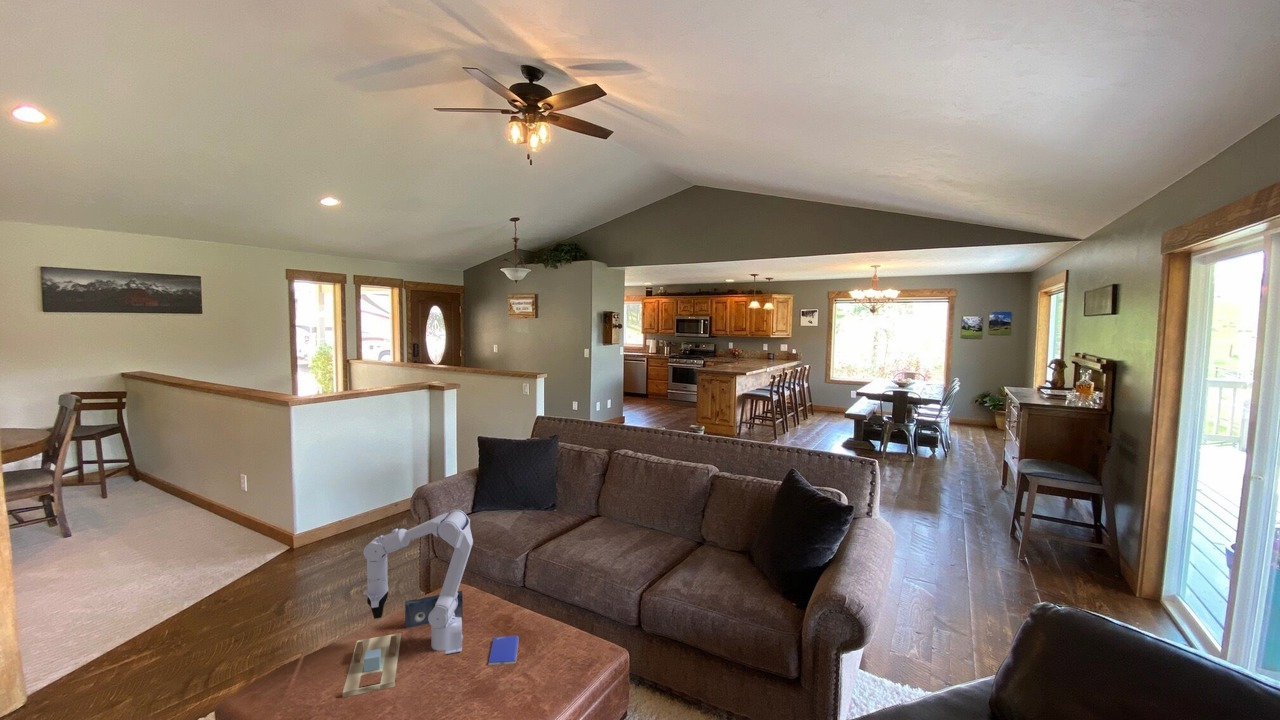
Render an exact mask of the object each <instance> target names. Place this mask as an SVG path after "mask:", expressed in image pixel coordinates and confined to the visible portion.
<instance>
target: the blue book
mask: <svg viewBox="0 0 1280 720" xmlns="http://www.w3.org/2000/svg"><path fill="white" fill-rule="evenodd" d="M519 639H520V636H519V635H508V636H495V637H493V640H492V644H491V647H490V648H491V649H490V654H489V659H488V662H487V663H488V664H487V665H488V666H499V665H512V664H516V662H517V654H518V648H519V642H520V641H519Z"/></svg>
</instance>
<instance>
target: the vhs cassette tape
mask: <svg viewBox="0 0 1280 720" xmlns="http://www.w3.org/2000/svg"><path fill="white" fill-rule="evenodd" d="M457 592H458V596H457V601H458V606H457V608H456V609H455V610H454V614H455V617H462V621H463V619H464V616H463V608H464V606H463V602H464V601H463V595H464V594H463V591H462V590H460V591H459V590H458V591H457ZM439 596H440V594H437V595H432V596H426V597H422V598H418V599H417V598H416V599H410V600H405V601H404V603H405V604H404V605H405V606H404V610H405V611H404V613H405V614H404V615H405V617H404V618H405V621H404V622H405V623H404V625H405V630H406V629H410V628H417V627H420V626H424V625H430V623H429V621H428V616H429V613H430V612H431V611H432V610H433V608H434V607H435V604H436V602H437V600H438V598H439Z"/></svg>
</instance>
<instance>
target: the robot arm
mask: <svg viewBox="0 0 1280 720" xmlns="http://www.w3.org/2000/svg"><path fill="white" fill-rule="evenodd" d="M429 534H432V535H433V536H435V537H436V538H438V537H440V538H441V539H442V540H443V541H445V542H447V544H448V545H450V546H451V547H453V550H454V551H453V553H452V557H451V559H450V562H449V566H448V569H447V572H446V574H445V578H444V582H443V583H442V588H441V590H440V593H439V595H440V596H439V598H438V600H437V602H436V604H435V607H434V608H433V610H432V611H431V612H430V613H429V616H428V621H429V623H430V624H429V625H430V627H431V629H430V630H431V631H430V633H431V634H430V639H431V643H430V644H431V648H432V650H434V651H438V652H439V651H440V652H441V651H444V655H449V654H455V653H459V652H462V651H463V641H464V634H463V620H462V617H455V614H454V610H455V609H456V608H457V606H458V601H457V596H458V592H459V588H460V586H461V585H460V584H461V581H462V578H463V577H464V576H463V575H464V572H465V569H466V566H467V563H468V560H469V556H470V554H471V550H472V548H473V545H474V539H473V535H472V531H471V519H470V518H469V517H468V515H467V514H466V513H465V512H464V511H462V510H461V509H454V510H452V511H450V512H445V513H442V514H441V515H438V516H435V517H433V518H432V519H429V520H427V521H425V522H423V523H420V524H418V525H416V526H414V527H411V528H410V529H406V528H400V529H398V528H394V529H393V530H392V531H391V532H390V533H387V534H381V535H379V536H377V537H375V538H374V539H372V540H371V541H370V542H369V543H368V544H366V546H365V547H364V549H363V552H362V553H363V557H364V558H365V560H366V567H367V568H366V571H367V572H366V573H367V574H366V575H367V576H366V578H367V581H366V582H367V583H366V584H367V589H364V590H363V596H367V599H366V602H367V605H368V606H369V607H370V609H371V612H372V617H373V619H374V620H375V619H381V618H382V616H383V614H384V607H385V603H386V601H387V600H388V595H389V586H388V585H389V583H388V581H389V580H388V579H389V577H388V576H389V575H388V554H391V553H393V552H396V551H398V550H401V549H404V548H405V547H408V546H409V545H410V542H411V541H413V540H416V539H418V538H420V537H424V536H427V535H429Z"/></svg>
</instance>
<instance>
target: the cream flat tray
mask: <svg viewBox="0 0 1280 720" xmlns="http://www.w3.org/2000/svg"><path fill="white" fill-rule="evenodd" d="M401 638H402V632H399V633H393V634H388V635H387V634H386V635H381V636H376V637H371V638H370V637H369V638H364V639H359V640H356V642H355V646H354V650H353V654H352V658H351V660H350V664H349V667H348V673H347V675H346V679H345V683H344V685H343V686H344V687H343V691H342V698H347V697H352V696H357V695H361V694H366V693H371V692H376V691H377V692H378V691H381V690H386V689H390V688H395V685H396V674H397V667H398V659H399V653H400V647H401ZM375 649H381V665H380V670H375V671H369V672H364V658H365V654H366V651H369V650H375ZM380 672H381V677H380V682H377V683H372V684H367V685H362V686H360V684H361V683H360V682H361V678H362V676H364V675H369V674H375V673H380Z"/></svg>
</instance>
